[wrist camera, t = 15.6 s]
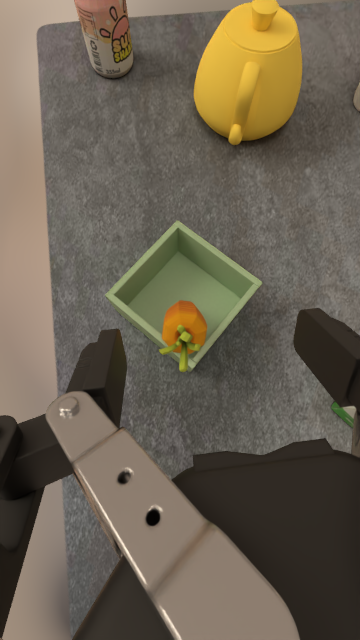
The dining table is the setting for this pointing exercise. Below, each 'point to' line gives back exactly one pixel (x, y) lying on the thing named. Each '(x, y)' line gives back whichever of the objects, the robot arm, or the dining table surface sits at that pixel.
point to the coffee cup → (357, 98)
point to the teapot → (250, 72)
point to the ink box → (345, 413)
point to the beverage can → (106, 35)
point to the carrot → (183, 331)
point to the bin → (182, 287)
